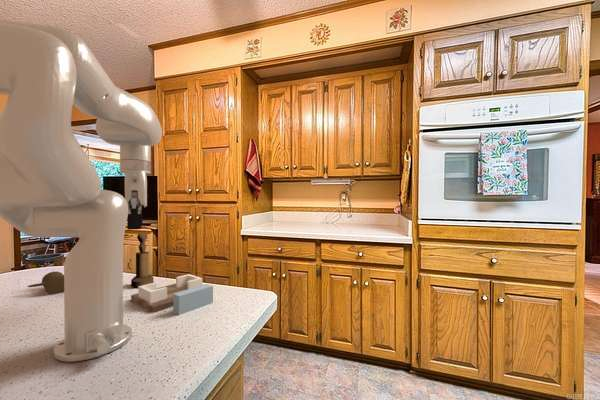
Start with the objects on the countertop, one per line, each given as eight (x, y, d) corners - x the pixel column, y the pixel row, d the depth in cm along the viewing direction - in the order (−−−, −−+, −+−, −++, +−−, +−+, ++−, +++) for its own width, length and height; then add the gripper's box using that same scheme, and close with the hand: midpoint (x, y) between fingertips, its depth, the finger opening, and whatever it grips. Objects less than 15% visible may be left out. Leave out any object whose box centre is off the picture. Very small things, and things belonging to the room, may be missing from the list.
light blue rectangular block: (212, 303, 76) (212, 285, 76) (179, 315, 68) (179, 296, 68) (206, 300, 78) (206, 283, 78) (173, 312, 70) (173, 293, 70)
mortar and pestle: (147, 280, 96) (147, 230, 96) (157, 284, 92) (157, 232, 92) (127, 285, 91) (127, 232, 90) (136, 289, 87) (136, 234, 87)
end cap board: (210, 294, 83) (210, 289, 83) (153, 312, 69) (153, 307, 69) (186, 285, 91) (186, 280, 91) (131, 300, 78) (131, 295, 78)
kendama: (110, 284, 93) (29, 300, 78) (101, 280, 100) (25, 293, 84) (110, 267, 94) (29, 279, 78) (102, 264, 100) (25, 274, 84)
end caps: (202, 287, 84) (202, 278, 84) (150, 303, 72) (150, 292, 72) (189, 283, 89) (189, 274, 89) (138, 296, 77) (138, 286, 76)
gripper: (150, 165, 70) (150, 229, 70) (150, 171, 86) (150, 225, 85) (116, 163, 67) (116, 231, 67) (122, 170, 82) (122, 226, 82)
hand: (135, 227), depth 76 cm, fingers open, 9 cm apart
